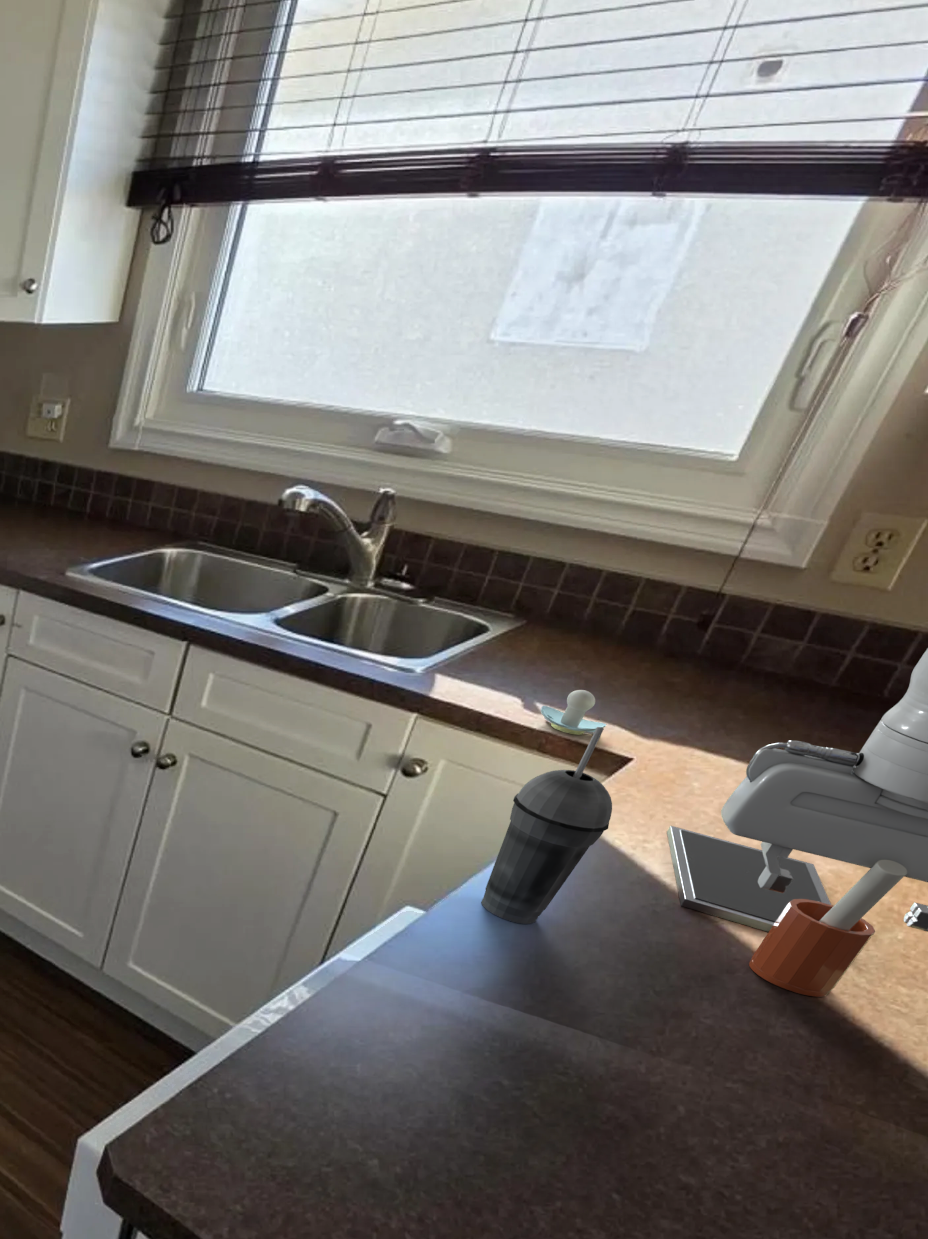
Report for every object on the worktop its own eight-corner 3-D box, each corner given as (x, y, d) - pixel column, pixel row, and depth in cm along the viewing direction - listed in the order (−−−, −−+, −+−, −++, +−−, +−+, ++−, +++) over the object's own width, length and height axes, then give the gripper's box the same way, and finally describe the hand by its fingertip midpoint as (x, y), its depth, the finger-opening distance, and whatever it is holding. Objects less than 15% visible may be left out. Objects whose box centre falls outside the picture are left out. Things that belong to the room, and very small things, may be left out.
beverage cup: (466, 914, 101) (556, 734, 92) (463, 881, 106) (548, 708, 97) (557, 941, 97) (661, 757, 88) (549, 906, 103) (647, 729, 94)
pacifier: (543, 716, 149) (530, 723, 145) (563, 676, 146) (550, 683, 143) (606, 735, 143) (593, 743, 140) (627, 694, 141) (615, 701, 137)
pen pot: (823, 976, 95) (867, 915, 91) (834, 1005, 91) (881, 942, 88) (745, 951, 97) (785, 891, 94) (752, 979, 94) (794, 917, 90)
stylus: (804, 964, 94) (906, 863, 85) (806, 978, 93) (909, 878, 84) (778, 956, 95) (876, 856, 86) (779, 970, 94) (878, 870, 85)
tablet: (809, 870, 112) (814, 863, 111) (844, 955, 98) (850, 947, 97) (666, 831, 118) (670, 824, 118) (680, 905, 104) (685, 897, 104)
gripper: (774, 746, 87) (693, 881, 93) (1143, 824, 77) (1023, 969, 83) (758, 722, 92) (682, 852, 98) (1103, 793, 81) (993, 932, 88)
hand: (841, 906), depth 90 cm, fingers open, 8 cm apart
